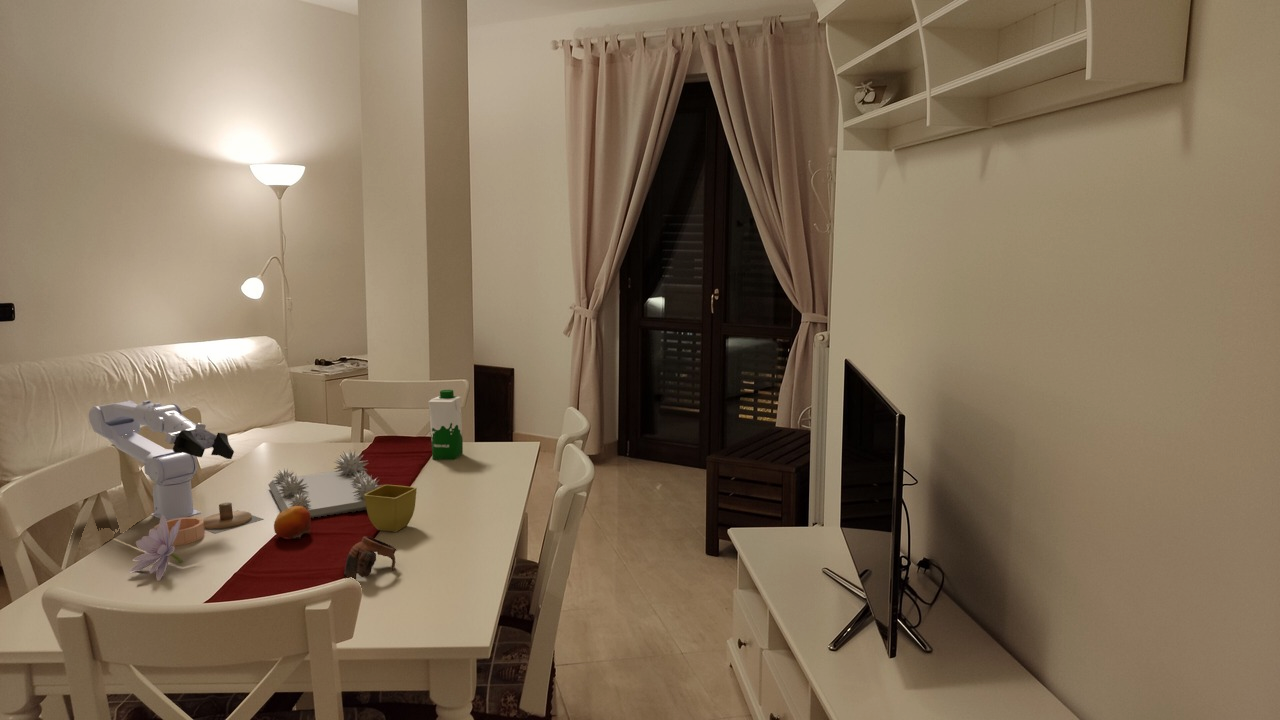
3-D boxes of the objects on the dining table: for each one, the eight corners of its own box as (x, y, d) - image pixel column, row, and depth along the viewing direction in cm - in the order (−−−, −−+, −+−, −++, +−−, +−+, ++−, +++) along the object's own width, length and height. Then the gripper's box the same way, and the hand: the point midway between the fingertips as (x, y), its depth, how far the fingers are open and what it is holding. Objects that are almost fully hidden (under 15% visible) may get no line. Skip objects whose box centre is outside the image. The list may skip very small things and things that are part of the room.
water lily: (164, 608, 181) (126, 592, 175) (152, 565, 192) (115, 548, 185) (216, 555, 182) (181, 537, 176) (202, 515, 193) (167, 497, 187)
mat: (189, 525, 211) (189, 523, 211) (237, 512, 220) (237, 510, 220) (215, 535, 204) (215, 533, 204) (264, 520, 213) (263, 519, 213)
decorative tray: (268, 490, 240) (265, 455, 238) (365, 475, 252) (363, 441, 251) (286, 527, 210) (283, 486, 208) (396, 508, 222) (393, 469, 220)
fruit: (306, 537, 197) (287, 506, 197) (281, 553, 199) (261, 523, 199) (326, 525, 205) (307, 495, 204) (301, 540, 207) (283, 511, 206)
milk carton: (466, 453, 274) (463, 389, 271) (455, 460, 265) (452, 395, 262) (439, 452, 275) (436, 389, 272) (428, 460, 266) (424, 394, 263)
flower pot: (419, 523, 208) (417, 486, 207) (398, 536, 200) (395, 497, 199) (388, 520, 211) (385, 484, 210) (365, 532, 203) (362, 494, 202)
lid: (192, 523, 211) (190, 506, 210) (236, 511, 220) (235, 494, 219) (216, 532, 204) (214, 514, 204) (260, 519, 213) (259, 502, 212)
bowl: (147, 541, 201) (145, 526, 200) (191, 529, 208) (190, 514, 208) (168, 550, 195) (166, 535, 194) (213, 537, 202) (211, 522, 202)
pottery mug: (343, 569, 183) (360, 531, 184) (386, 586, 184) (403, 548, 185) (335, 576, 171) (354, 536, 172) (381, 594, 172) (399, 554, 174)
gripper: (162, 413, 205) (194, 435, 198) (217, 419, 217) (249, 440, 211) (151, 441, 205) (183, 464, 198) (207, 445, 218) (239, 467, 211)
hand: (217, 454), depth 205 cm, fingers open, 7 cm apart
